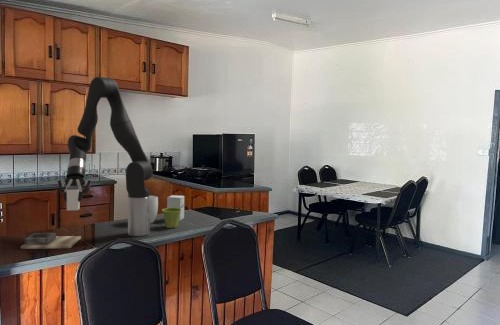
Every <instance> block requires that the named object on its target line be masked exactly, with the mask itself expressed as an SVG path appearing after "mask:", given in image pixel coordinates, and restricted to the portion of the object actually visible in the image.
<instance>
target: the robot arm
mask: <svg viewBox="0 0 500 325" xmlns="http://www.w3.org/2000/svg"><path fill="white" fill-rule="evenodd" d="M120 91H121V90H120V89H119V85H118V83H117V81H116V80H114V78H112V77H111V78H110V77H104V76H102V77H101V76H96V77H94V78H93V79H91V81H90V84H89V88H88V92H87V96H86V97H87V98H86V101H85V106H84V110H83V113H82V116H81V119H80V122H79V124H78V126H77V128H76V129H77V133H79V135H76V134H73V135H71V136H69V137H68V139H67V148H68V153H69V159H68V165H67V169H66V176H65V179H64V180H63V181H62V180H57V185H58V188H59V193H60V194H61V195H63V201H64V202H65V203H67V187H68V186H79V195H78V202H81V201H82V200H83V195H87V194H89V190H90V188H91V186H92V181H91V180H86V178H85V176H86V171H87V170H86V166H87V165H86V162H87V154H86V153H88V152H89V151H91V150H92V140H93V139H92V138H93V134H94V131H95V129H96V126H97V124H98V121H99V116H98V104H99V102H100V100H101V99H103V98H104V99H107V100H106V101H108V104H109V106H110V110H111V112H110V119H109V120H110V121H109V126H110V128H111V129H110V130H111V131H112V133H113V135H114V136H113V137H114V138H115V140H116V142H117V143H118V144H119V145H120V146H121V147H122V148H123V150H124V151H125V152H126V153H127V154H128V156H129V158H130V160H131V162H130V163H129V164H127V165H126V168H125V183H126V184H125V186H126V192H127V197H128V198H127V234H128V236H129V237H130V236H131V237H144V236H148V235H149V234H150V230H151V229H150V228H151V227H150V226H151V223H150V212H149V196H150V190H149V189H147V188H146V184H145V182H146V181H148V180H150V179H152V177H153V174H154V172H153V171H154V170H153V166H152V164H151V162H150V160H149V158H148V156H147V155H146V153H145V151H144V149H143V147H142V146H141V142H140V140H139V139H138V136H137V134H136V131H135V128H134V126H133V123H132V121H131V119H130V117H129V114H128V112H127V109H126V107H125V104H124V102H123V98H122V95H121V92H120ZM80 135H82V136H80ZM64 185H65V186H66V187H65V189H63V188H64ZM84 185H85V186H84ZM83 186H84V188H83V189H82V187H83Z"/></svg>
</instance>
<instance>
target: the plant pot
mask: <svg viewBox="0 0 500 325" xmlns="http://www.w3.org/2000/svg"><path fill="white" fill-rule="evenodd" d="M181 210H182V209H180V208H167V207H166V208H162V209H161V211H162V213H163V218H164V225H165V228H167V229H172V228H174V229H176V228H178V227H179V222H180V221H179V216H180V212H181Z"/></svg>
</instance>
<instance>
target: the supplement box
mask: <svg viewBox="0 0 500 325" xmlns="http://www.w3.org/2000/svg"><path fill="white" fill-rule="evenodd" d="M166 199H167V201H166V204H167V205H166V206H167V207H166V208H180V209H182V210H181V212H180V216H179V222H180V221H182V220H183V219H185V195H176V194H175V195H174V194H171V195H170V196H167V198H166Z"/></svg>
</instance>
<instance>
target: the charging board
mask: <svg viewBox="0 0 500 325" xmlns="http://www.w3.org/2000/svg"><path fill="white" fill-rule="evenodd" d="M81 239H82V236H81V235H77V236H76V235H75V236H74V235H73V236H71V235H68V236H67V235H62V236H61V235H60V236H59V235H58V236H57V233H56V232H33V233H31V234H30V235H29V236H27V237H25V238H24V244H22V245H21V246H20V249H21V250H23V249H24V250H26V249H27V250H29V249H34V250H37V249H38V250H39V249H41V250H44V249H71V248H72V247H73V246H75V244H77V243H78V242H79V241H80V240H81Z"/></svg>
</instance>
